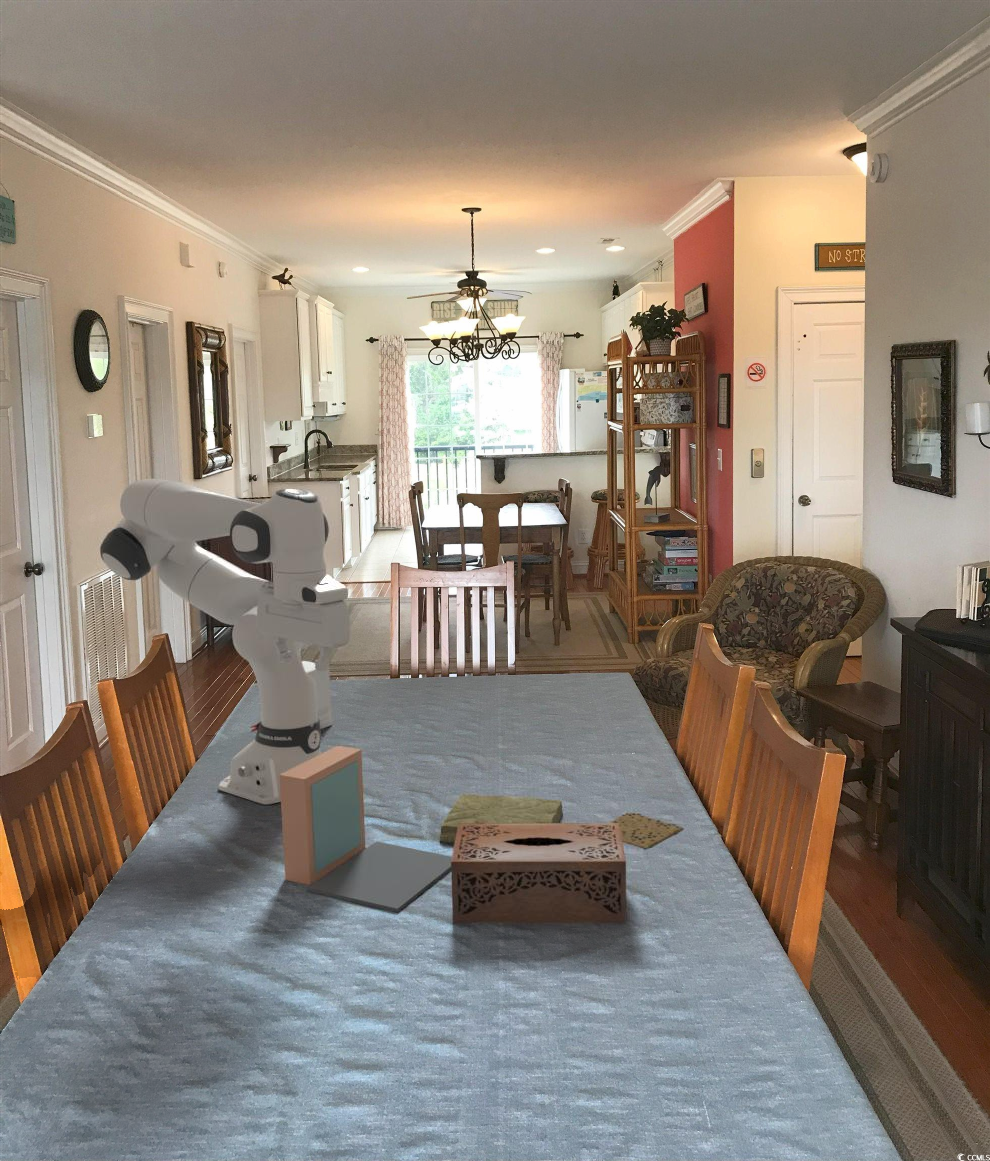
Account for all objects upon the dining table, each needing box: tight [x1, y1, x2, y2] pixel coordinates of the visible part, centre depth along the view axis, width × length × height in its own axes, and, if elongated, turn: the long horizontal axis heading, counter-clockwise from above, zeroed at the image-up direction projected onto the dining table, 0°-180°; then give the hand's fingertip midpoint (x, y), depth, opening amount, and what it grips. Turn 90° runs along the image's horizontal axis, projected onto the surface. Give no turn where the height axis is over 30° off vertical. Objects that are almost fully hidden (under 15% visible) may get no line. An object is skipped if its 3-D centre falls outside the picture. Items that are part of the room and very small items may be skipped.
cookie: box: [610, 812, 684, 850], centre depth 195 cm, size 12×12×1 cm
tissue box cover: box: [450, 822, 627, 924], centre depth 168 cm, size 26×14×10 cm, turn 87°
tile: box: [279, 745, 366, 886], centre depth 183 cm, size 5×16×18 cm, turn 153°
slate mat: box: [307, 840, 452, 913], centre depth 179 cm, size 17×20×1 cm
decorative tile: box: [439, 793, 564, 843], centre depth 198 cm, size 19×20×4 cm
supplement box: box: [301, 660, 334, 730], centre depth 259 cm, size 9×9×15 cm
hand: (303, 665), depth 186 cm, fingers open, 8 cm apart
